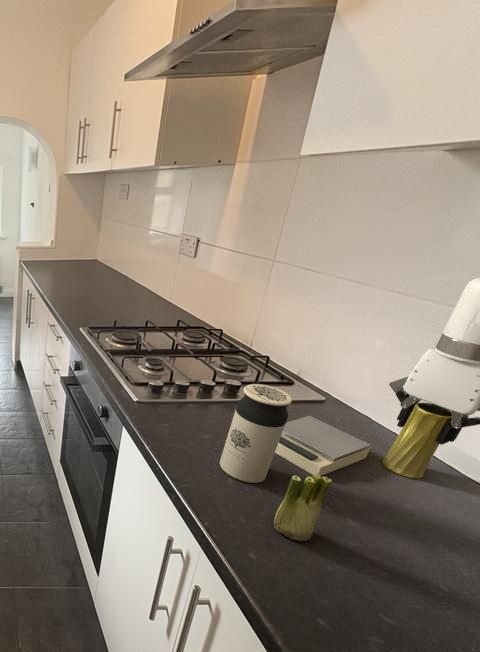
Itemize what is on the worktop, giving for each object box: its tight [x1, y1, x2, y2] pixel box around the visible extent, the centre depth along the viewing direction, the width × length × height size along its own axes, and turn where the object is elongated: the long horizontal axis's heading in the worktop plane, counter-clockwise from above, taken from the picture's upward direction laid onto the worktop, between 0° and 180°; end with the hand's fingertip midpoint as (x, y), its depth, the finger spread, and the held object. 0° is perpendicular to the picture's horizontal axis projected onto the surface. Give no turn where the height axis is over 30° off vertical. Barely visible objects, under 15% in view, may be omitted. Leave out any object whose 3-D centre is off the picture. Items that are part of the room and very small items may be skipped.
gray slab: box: [282, 415, 371, 462], centre depth 89 cm, size 12×12×1 cm
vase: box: [381, 401, 452, 480], centre depth 81 cm, size 6×6×14 cm
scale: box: [274, 434, 371, 477], centre depth 89 cm, size 16×12×3 cm
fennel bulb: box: [273, 474, 333, 542], centre depth 67 cm, size 6×5×12 cm
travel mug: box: [219, 383, 293, 484], centre depth 80 cm, size 8×8×18 cm
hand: (422, 432), depth 81 cm, fingers closed on vase, 5 cm apart
